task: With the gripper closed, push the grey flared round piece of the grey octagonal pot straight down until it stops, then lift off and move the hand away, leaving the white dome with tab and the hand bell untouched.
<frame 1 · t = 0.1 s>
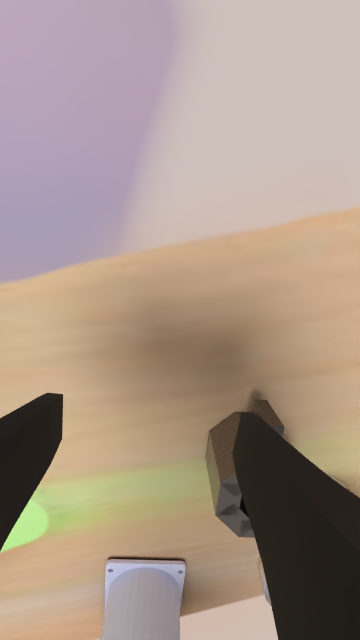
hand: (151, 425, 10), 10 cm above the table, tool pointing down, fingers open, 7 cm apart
grey octagonal pot: (245, 446, 23), on the table
grey flared round piece: (275, 525, 16), point 7 cm above the table, slide at 0.0 cm
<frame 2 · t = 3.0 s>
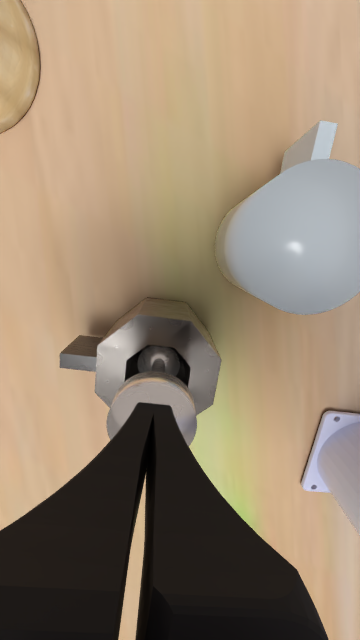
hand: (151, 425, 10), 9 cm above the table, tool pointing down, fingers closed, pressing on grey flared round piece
white dome with tab: (260, 246, 18), on the table
grey octagonal pot: (161, 343, 19), on the table
grey flared round piece: (156, 385, 13), point 6 cm above the table, slide at 0.6 cm, touching gripper
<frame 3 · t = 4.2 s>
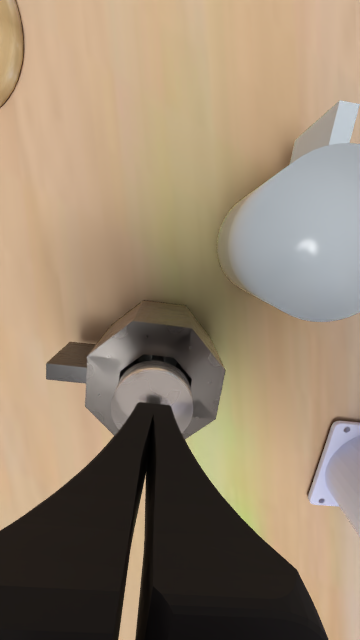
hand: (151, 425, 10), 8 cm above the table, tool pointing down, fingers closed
white dome with tab: (266, 244, 16), on the table
grey octagonal pot: (158, 350, 18), on the table
grey flared round piece: (156, 375, 14), point 4 cm above the table, slide at 3.0 cm
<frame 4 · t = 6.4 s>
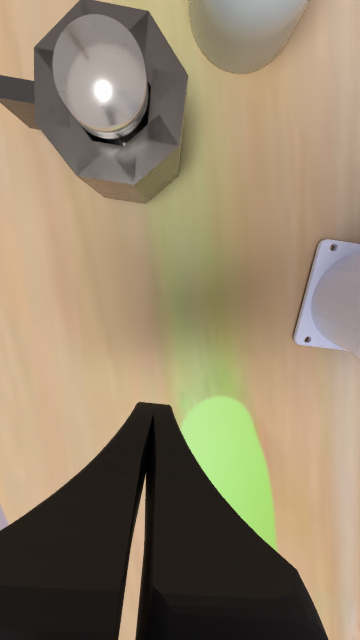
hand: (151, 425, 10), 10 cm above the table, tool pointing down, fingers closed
white dome with tab: (242, 8, 15), on the table
grey octagonal pot: (129, 144, 17), on the table
grey flared round piece: (116, 114, 13), point 4 cm above the table, slide at 3.0 cm
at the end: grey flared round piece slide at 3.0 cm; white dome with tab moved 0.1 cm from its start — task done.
